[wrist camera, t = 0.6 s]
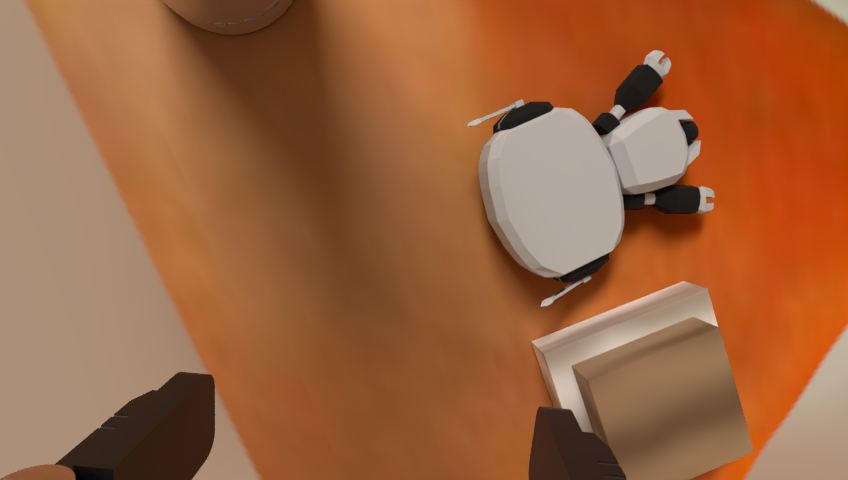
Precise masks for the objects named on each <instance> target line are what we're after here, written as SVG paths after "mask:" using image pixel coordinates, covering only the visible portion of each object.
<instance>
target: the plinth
mask: <svg viewBox="0 0 848 480" xmlns="http://www.w3.org/2000/svg"><path fill="white" fill-rule="evenodd" d="M531 342H532V345H533V348H534V351H535V354H536V357H537V360H538V363H539V365H540V368H541V371H542V374H543V377H544V380H545V383H546V386H547V389H548V392H549V395H550V398H551V400H552V403H553V406H554V408H562V409H570V410H572V412H573V414H574V416H575V418H576V420H577V422H578V424H579V426H580V428H581V430H582V432H590V433H594V434H595V435H597V436H598V437H599V438H600V439H601V440H602V441H603V442H604V443H606V444H607V445H608V446H609V447H610V448H611V450H612V452H613V454H614V456H615V457H616V459H617V461H618V463H619V466H621V468H622V470H623V472H624V474H625V475H626V480H689V479H692V478H694V477H697V476H699V475H701V474H704V473H706V472H708V471H711V470H713V469H715V468H718V467H720V466H722V465H725V464H727V463H730V462H732V461H734V460H737V459H739V458H741V457H744V456H746V455H748V454H751V453H753V452H754V450H753V446H752V443H751V439H750V436H749V432H748V428H747V425H746V421H745V418H744V414H743V410H742V407H741V403H740V400H739V396H738V392H737V389H736V385H735V382H734V378H733V374H732V371H731V367H730V363H729V360H728V356H727V353H726V349H725V345H724V342H723V338H722V335H721V331H720V328H719V327H718V325H717V321H716V318H715V314H714V310H713V307H712V303H711V299H710V296H709V292H708V289H707V288H704V287H701V286H698V285H695V284H692V283H688V282H685V281H682V282H680V283H677V284H675V285H672V286H670V287H667V288H665V289H662V290H660V291H657V292H655V293H652V294H650V295H647V296H645V297H642V298H640V299H637V300H634V301H632V302H629V303H627V304H624V305H622V306H619V307H617V308H614V309H612V310H609V311H607V312H604V313H602V314H599V315H597V316H594V317H592V318H589V319H586V320H584V321H581V322H579V323H576V324H574V325H571V326H569V327H566V328H564V329H561V330H559V331H556V332H554V333H551V334H549V335H546V336H544V337H541V338H538V339H536V340H533V341H531Z"/></svg>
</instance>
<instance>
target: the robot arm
mask: <svg viewBox="0 0 848 480" xmlns="http://www.w3.org/2000/svg"><path fill="white" fill-rule="evenodd" d="M162 1H163V2H164V3H165V4H166V5H167V6H169V7H170V8H171V9H172V10H173V11H174V12H175V13H177V14H178V15H179V16H181V17H182V18H184V19H185V20H186V21H188V22H189V23H191V24H192V25H195V26H197V27H199V28H202V29H204V30H206V31H210V32H214V33H219V34H224V35H240V34H245V33H249V32H254V31H257V30H259V29H261V28H264V27H266V26H268V25H270V24H271V23H273V22H274V21H275V20H276V19H278V18H279V17H280V16H281V15H283V14H284V12H285V11H286V10H287V9H288V7H289V6H290V5H291V4H292V2H293V0H162ZM214 434H215V384H214V379H213V377H212V375H209V374H198V373H187V372H179V373H177V374H175V376H173V377H172V378H171V379H170V380H169V381H168V382H166V383H165V384H164V385H163V386H162V387H161V388H160V389H159V390H157V391H155V390H152V391H150V392H148V393H146V394H143V395H142V396H139V397H137V398H135V399H133V400H131V401H129V402H128V403H127V404H126V405H125V406H124V407H122V408H121V409H120V410H119V411H118V412H116V413H115V414H114V417H111V418H109V419H108V420H107V421H106V422H105V423H103V424H102V425H101V428H98V429H96V430H95V431H94V432H93V433H92V434H90V435H89V436H88V437H87V438H86V439H84V440H83V441H82V442H81V443H80V444H79V445H77V446H76V447H75V448H74V449H72V450H71V451H70V452H69V453H68V454H67V455H65V456H64V457H63V458H62V459H61V460H59V461H58V462H57V463H56V464H55V465H40V466H34V467H30V468H26V469H23V470H20V471H17V472H14V473H12V474H10V475H7V476H5V477H3V478H1V479H0V480H192V478H193V477H194V476H195V474H196V473H197V472H198V470H199V469H200V467H201V466H202V465H203V463H204V462H205V460H206V459H207V457H208V455H209V453H210V451H211V448H212V445H213V441H214ZM529 480H626V475H625V474H624V472H623V470H622V468H621V466H619V463H618V461H617V459H616V457H615V456H614V454H613V452H612V450H611V448H610V447H609V446H608V445H607V444H606V443H604V442H603V441H602V440H601V439H600V438H599V437H598V436H597V435H595V434H594V433H590V432H582V430H581V428H580V426H579V424H578V422H577V420H576V418H575V416H574V414H573V412H572V410H570V409H562V408H552V407H539V408H538V411H537V415H536V421H535V428H534V435H533V441H532V448H531V455H530V462H529Z"/></svg>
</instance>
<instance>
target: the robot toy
mask: <svg viewBox="0 0 848 480" xmlns="http://www.w3.org/2000/svg"><path fill="white" fill-rule="evenodd" d="M663 55H664V53H663V52H662V51H656V50H654V51H652V52H651V53H649V54H648V55H647V56H646V57H645V59H644V62H643V65H638V66H637V67H636V68H635V69H634V70H633V71H632V72H631V73H630V74H629V75H628V77H627V78H626V79H625V80H624V81H623V83H622V84H621V85H620V86H619V87H618V88H617V90H616V95H615V101H614V107H613V108H612V110H611V111H610V112H609V113H602V114H601V115H599V116H598V118H597V119H596V120H595V121H594V122H593V124H592V125H591V124H590V123H589V121H588V120H587V119H586V118H585V117H583V116H582V115H580V114H579V113H578V112H576V111H575V110H573V109H572V108H554V107H553V106H552V105H551V104H550V102H530V103H527V104H525V105H524V102H523V100H522V99H521V100H519V101H517V102H514V103H512V104H510V106H509V107H506V108H504V109H502V110H499V111H497V112H495V113H492V114H490V115H487V116H485V117H483V118H480V119H476V120H474V121H472V122H470V123H469V124H468V125H467V126H469V127H472V126H474V125H477V124H479V123H481V122H482V121H484V120H487V119H489V118H491V117H494V116H496V115H498V114H501V113H503V112H506V111H508V110H510V109H511V111H509V112H507V113H505V114H504V115H503V116H502V117H501V118H500V119H499V121H498V122H497V123H496V124H495V125H494V126H493V133H494V134H493V135H492V136H491V137H490V139H489V140H488V141H487V142H486V143H485V144H484V146H483V147H482V150H481V155H480V159H479V180H480V188H481V193H482V197H483V201H484V205H485V209H486V213H487V217H488V221H489V223H490V224H491V226H492V227H493V229H494V231H495V232H496V234H497V236H498V237H499V239H500V241H501V242H502V244H503V246H504V247H505V249H506V250H507V251H508V252H509V254H510V255H511V256H512V257H513V259H514V260H515V261H516V262H517V263H518V264H519V265H521V266H522V267H524V268H526V269H527V270H529V271H531V272H532V273H534V274H537V275H540V276H542V277H545V278H548V277H553V278H554V279H555V280H558V281H561V282H573V283H572V284H570V285H569V286H567V287H565V288H564V289H562V290H561V291H559V292H558V293H556V294H555V295H553V296H551V297H550V298H547V299H545V300H544V301H542V303H541V306H548V305H550V304H551V303H553V301H554V300H556V299H557V298H559V297H560V296H562V295H563V294H565V293H566V292H568V291H569V290H571V289H572V288H574V287H576V286H577V285H579V284H580V283H586V282H587V281H589V280H590V279H591V276H590V275H591V274H593V273H595V272H597V271H598V270H599V268H600V267H601V266H603V265H604V264H605V263H606V262H607V261H608V260H609V253H610V252H611V251H613V250H614V248H615V247H616V246H617V244H618V243H619V242H620V241H621V236H622V232H623V228H624V209H625V210H638V209H641V208H643V206H644V205H651V206H652V207H654V208H656V209H657V210H659V211H661V212H664V213H666V214H691V213H695V212H697V213H699V214H703V213H707V212H709V211H711V210H712V209H713V207H714V203H710V202H709V203H706V197H707V198H714V196H715V194H714V191H713V190H711V189H710V188H706V187H703V186H701V187H699V188H697V187H694V186H684V185H672V184H675V183H676V182H677V181H678V180H679V179H680V178H681V177H682V176H683V175H684V174H685V171H686V169H687V167H688V165H689V164H690V163H691V162H692V161H693V160H694V159H695V158H696V157H697V156H698V155H699V154H700V143H701V140H700V141H694V142H692V141H693V140H695V139H696V138H697V136H698V128H697V126H696V124H695V123H694V122H692V121H687V120H691V119H693V118H692V117H691V116H690V115H689V114H688V113H687V112H686V111H685V110H667V109H665V108H662V107H654V108H647V109H643V110H640V111H636V112H633V113H629V114H627V115H625V116H623V117H622V118H621V116H622V115H623V114H624V113H625V112H628V111H631V110H633V109H635V108H637V107H639V106H641V105H643V104H644V103H645V102H646V101H647V100H648V99H649V98H650V97H651V96H652V94H653V93H654V92H655V91H656V90H657V88H658V87H659V86H660V85H661V84H662V82H663V80H662V78H664V77H665V76H666V74H667V73H668V71H669V69H670V67H671V62H670V60H669V59H668V58H666V59H663V60H662V62H661V63H660V64H659V63H658V61H659V60H660V58H661V57H662V56H663ZM682 121H685V122H682ZM679 122H681V123H679ZM657 189H658V190H657ZM653 190H656V191H654V192H652V193H645V192H649V191H653ZM541 306H540V307H541Z"/></svg>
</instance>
